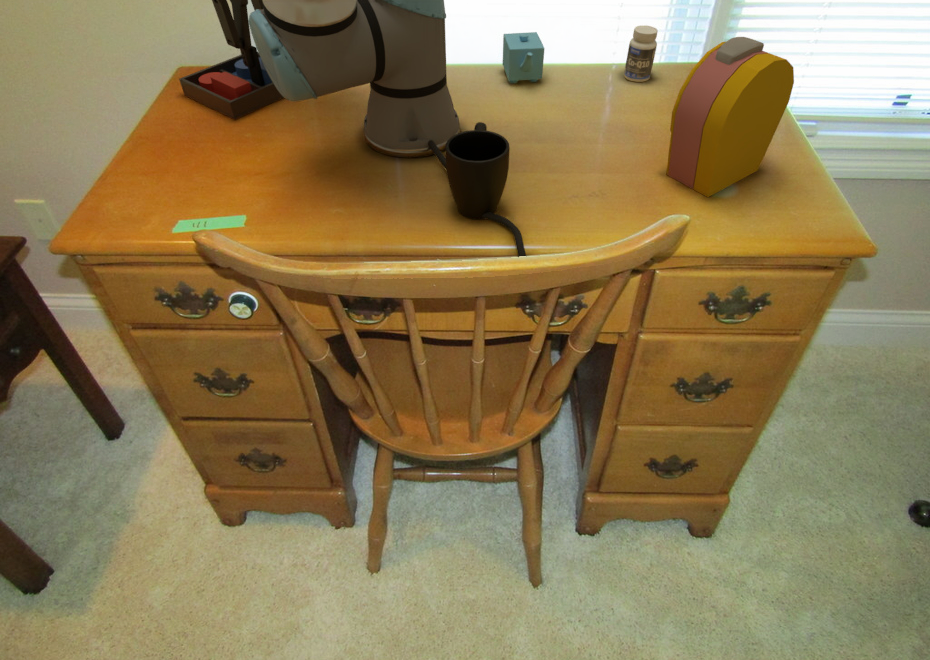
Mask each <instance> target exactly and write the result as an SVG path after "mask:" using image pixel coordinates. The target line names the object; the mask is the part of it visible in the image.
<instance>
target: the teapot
mask: <svg viewBox="0 0 930 660" xmlns="http://www.w3.org/2000/svg"><path fill="white" fill-rule="evenodd" d="M502 40H503V41H502V44H503V45H502V67H503V69H504V73H505V75H506V78H507V80H508V83H510V84H517V83H518V81H529V82H531V83H536V82H538V80H542V79H543V72H544V60H545V59H544V58H545V57H544V56H545V46H544V44H543V42H542V39H541V38H540V36H539V33H538V32H537V31H532V32H513V33H503V39H502Z"/></svg>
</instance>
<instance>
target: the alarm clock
mask: <svg viewBox="0 0 930 660" xmlns="http://www.w3.org/2000/svg"><path fill="white" fill-rule="evenodd" d="M764 46H765V43H764V42H763V41H762V42H761V41H759V40H756V39H754V38H750V37H747V36H736V37H731V38H730V39H728V40H727V41H726V40H725V41H721V42H720V43H718V44H717V45H716V46H713V47H712V48H711V49H709V50H708V51H706V53H704V55H703V56H702V57H701V58H700V59H699V60H698V61H697V63H696V64H694V66H693V68H691V70H690V71H689V73H688V75H687V77H686V79H685V81H684V82H683V84H682V86H681V87H680V89H679V91H678V93H677V97H676V99H675V102H674V105H673V108H672V111H671V119H670V129H669V131H670V137H669V138H670V139H669V146H668V148H669V149H668V156H667V164H666V172H665V173H666V176H668V177H670V178H672V179H673V180H675V181H677V182H679V183H681V184H683V185H684V186H686V187H688V188H690V189H692V190H694V191H695V192H697V193H699V194H701V195H703V196H705V197H706V198H709V197H712V196H713V195H716V194H717V193H719V192H721V191H723V190H724V189H726V188H729V187H730V186H732V185H734V184H735V183H737V182H739V181H742V180H743V179H745V178H747V177H748V176H751V175H752V174H754V173H756V172H757V171H759V169H760V167H761V164H762V162H763V160H764V158H765V156H766V153H767V151H768V150H769V147H770V144H771V142H772V140H773V138H774V136H775V133H776V131H777V129H778V127H779V124H780V122H781V120H782V118H783V116H784V114H785V111H786V110H787V107H788V105H789V102H790V99H791V96H792V91H793V88H794V85H795V74H794V71H795V69H794V66H793V65H792V64H791V63H790V61H789V60H788V59H787V58H784V57H781V56H778V55H777V54H772V53H770V52H767V51H764V48H765V47H764Z"/></svg>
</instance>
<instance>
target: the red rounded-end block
mask: <svg viewBox="0 0 930 660" xmlns="http://www.w3.org/2000/svg"><path fill="white" fill-rule="evenodd" d="M199 83H200V86H201V87H203V88H205V89H207V90H209V91H211V92H213V93H215V94H218V95H220V96H222V97H224V98H226V99H228V100H230V101H231V100H233V99H236V98H238V97H240V96H242V95H245V94H247V93H249V92H252V90H251V86H250V83H249V82H248V81H245V80H243V79H241V78H238V77H236V76H234V75H232V74H229V73H227V72H222V73H220V72H212V73H207V74H204V75H202V76H200V77H199Z"/></svg>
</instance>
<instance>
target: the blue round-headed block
mask: <svg viewBox="0 0 930 660" xmlns="http://www.w3.org/2000/svg"><path fill="white" fill-rule="evenodd" d="M259 61H260V65H261V71H262V75H263V79H264V83H265V85H264V86H266V85H268V84H270V83H272V80H271V78H270V76H269V74H268V72H267V70H266V68H265V66H264V64H263V62H262V59H261V57H259ZM235 69H236V72H237V76H239V77H241V78H243V79H251V75H250V71H249V67H247V66H245V65H244V63H243V59H241V60H239V61H237V62H236V63H235ZM251 80H252V79H251Z"/></svg>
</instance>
